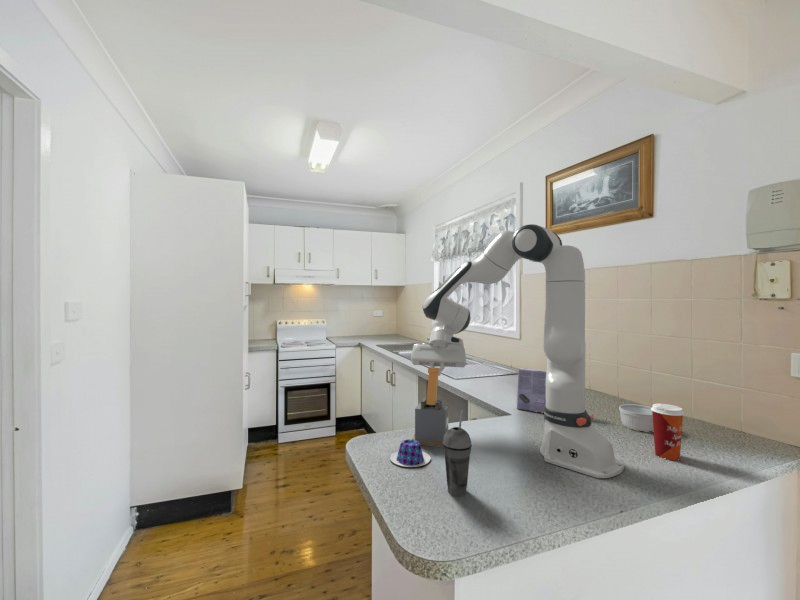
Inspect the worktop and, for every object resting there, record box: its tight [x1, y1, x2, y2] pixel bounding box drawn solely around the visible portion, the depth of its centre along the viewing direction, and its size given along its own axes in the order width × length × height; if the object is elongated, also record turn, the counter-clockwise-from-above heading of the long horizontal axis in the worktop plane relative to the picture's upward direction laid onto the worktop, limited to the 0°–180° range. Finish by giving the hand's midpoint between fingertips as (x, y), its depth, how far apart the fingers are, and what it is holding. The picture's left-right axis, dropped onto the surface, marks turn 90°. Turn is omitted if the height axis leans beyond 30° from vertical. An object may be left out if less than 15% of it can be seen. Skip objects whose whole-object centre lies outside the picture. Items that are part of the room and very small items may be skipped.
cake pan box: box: [516, 367, 547, 414], centre depth 153 cm, size 19×5×18 cm, turn 58°
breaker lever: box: [426, 366, 440, 408], centre depth 122 cm, size 2×4×13 cm, turn 74°
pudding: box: [389, 438, 431, 468], centre depth 107 cm, size 12×12×5 cm
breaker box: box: [411, 397, 450, 448], centre depth 121 cm, size 8×12×14 cm, turn 74°
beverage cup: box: [442, 409, 473, 497], centre depth 89 cm, size 7×7×20 cm
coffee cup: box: [651, 403, 685, 461], centre depth 109 cm, size 8×8×15 cm
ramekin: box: [618, 403, 653, 432], centre depth 134 cm, size 13×13×7 cm
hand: (435, 374), depth 128 cm, fingers closed
